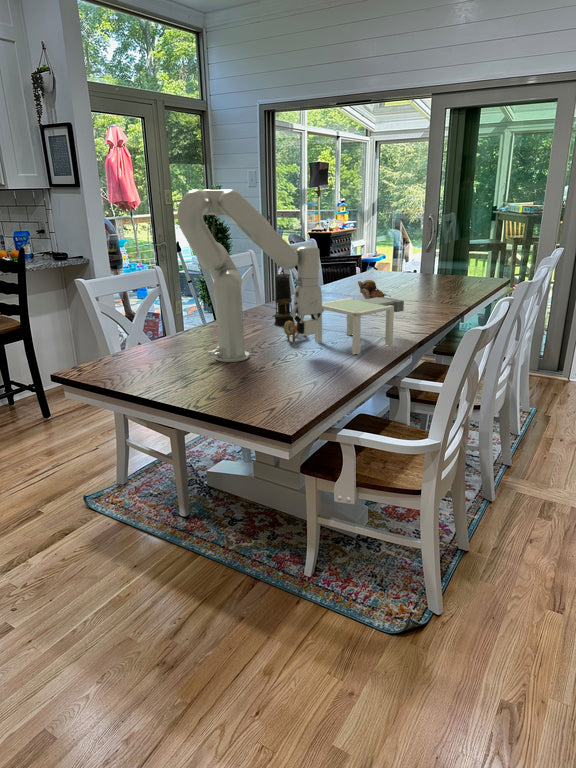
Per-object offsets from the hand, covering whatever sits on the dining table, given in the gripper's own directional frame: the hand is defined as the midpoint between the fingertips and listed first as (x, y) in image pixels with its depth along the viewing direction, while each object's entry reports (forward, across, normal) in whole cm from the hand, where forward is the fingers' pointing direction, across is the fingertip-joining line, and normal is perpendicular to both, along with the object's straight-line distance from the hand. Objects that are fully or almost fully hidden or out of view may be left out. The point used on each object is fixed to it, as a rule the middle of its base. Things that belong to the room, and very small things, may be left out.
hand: (306, 331), depth 197 cm
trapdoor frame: (+8, +23, -1) cm, 25 cm away
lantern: (+9, +23, +46) cm, 53 cm away
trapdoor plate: (-3, +29, -1) cm, 30 cm away
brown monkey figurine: (+7, +90, +58) cm, 107 cm away
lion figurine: (+9, +10, +20) cm, 24 cm away
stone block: (+1, 0, 0) cm, 1 cm away
